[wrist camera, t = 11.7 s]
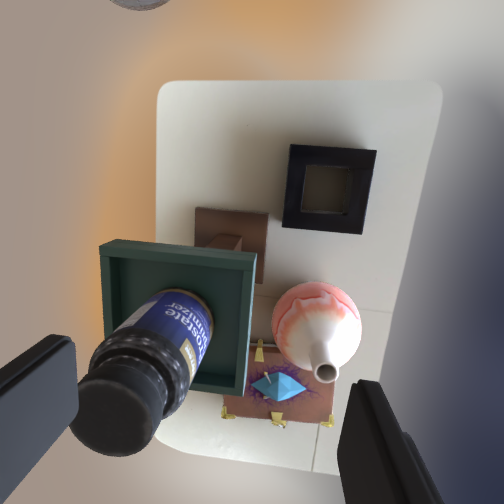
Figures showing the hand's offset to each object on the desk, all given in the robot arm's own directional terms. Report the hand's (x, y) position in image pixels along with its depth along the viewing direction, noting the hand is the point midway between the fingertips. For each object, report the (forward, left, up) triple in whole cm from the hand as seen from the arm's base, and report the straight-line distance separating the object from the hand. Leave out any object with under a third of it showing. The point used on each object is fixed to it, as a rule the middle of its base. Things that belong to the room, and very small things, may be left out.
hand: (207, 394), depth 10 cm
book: (+21, -23, -41) cm, 51 cm away
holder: (+4, +9, -41) cm, 42 cm away
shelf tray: (-1, -8, -15) cm, 17 cm away
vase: (+17, -7, -41) cm, 45 cm away
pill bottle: (-1, -8, -14) cm, 16 cm away
